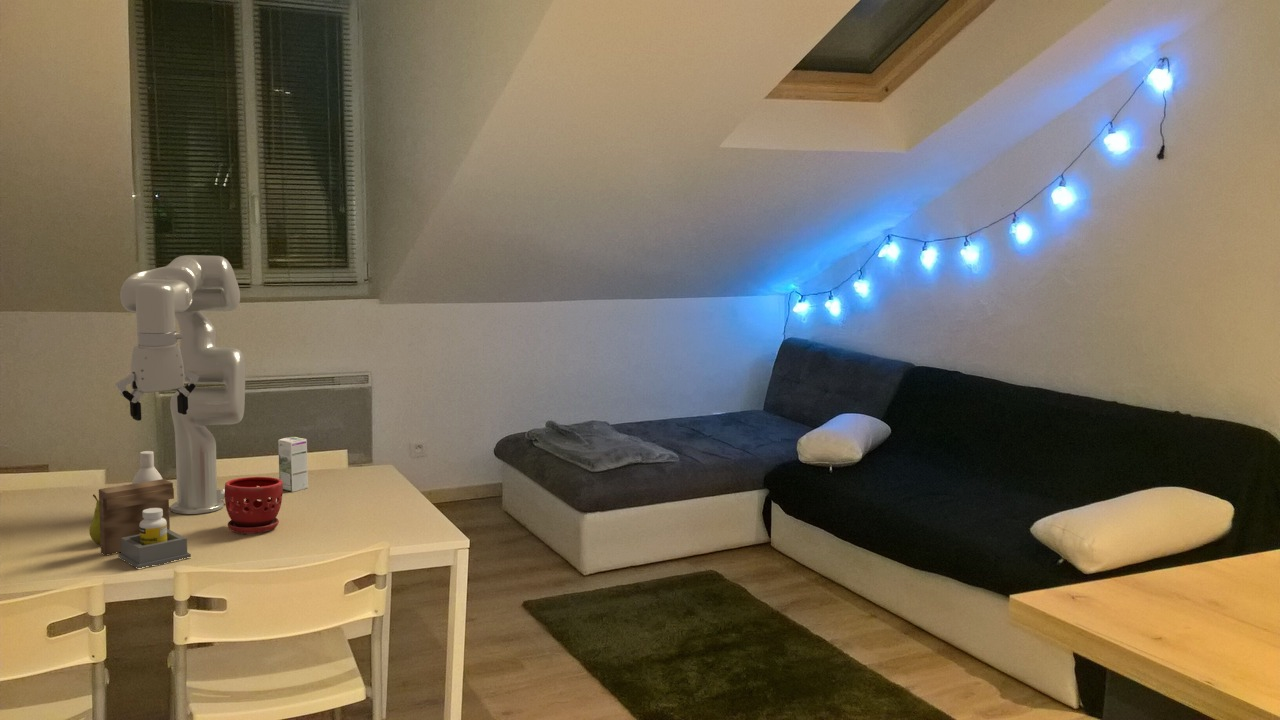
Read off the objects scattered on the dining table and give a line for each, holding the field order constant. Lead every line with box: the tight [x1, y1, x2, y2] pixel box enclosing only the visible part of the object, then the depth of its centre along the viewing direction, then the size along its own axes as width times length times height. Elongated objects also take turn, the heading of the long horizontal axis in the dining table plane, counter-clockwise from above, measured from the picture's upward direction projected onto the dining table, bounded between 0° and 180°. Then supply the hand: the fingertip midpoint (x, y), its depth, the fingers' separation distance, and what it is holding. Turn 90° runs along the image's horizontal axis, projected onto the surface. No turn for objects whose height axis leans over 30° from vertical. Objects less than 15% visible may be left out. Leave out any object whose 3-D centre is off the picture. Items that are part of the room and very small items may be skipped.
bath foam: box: [131, 450, 163, 484], centre depth 230 cm, size 7×7×20 cm
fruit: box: [88, 494, 101, 545], centre depth 223 cm, size 6×6×12 cm
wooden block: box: [98, 478, 175, 556], centre depth 220 cm, size 14×5×15 cm, turn 138°
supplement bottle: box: [139, 508, 167, 546], centre depth 214 cm, size 5×5×10 cm
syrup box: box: [277, 436, 309, 493], centre depth 275 cm, size 6×6×14 cm
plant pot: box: [224, 476, 284, 535], centre depth 237 cm, size 13×13×12 cm
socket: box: [117, 529, 192, 568], centre depth 214 cm, size 11×11×4 cm
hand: (160, 416), depth 215 cm, fingers open, 9 cm apart
